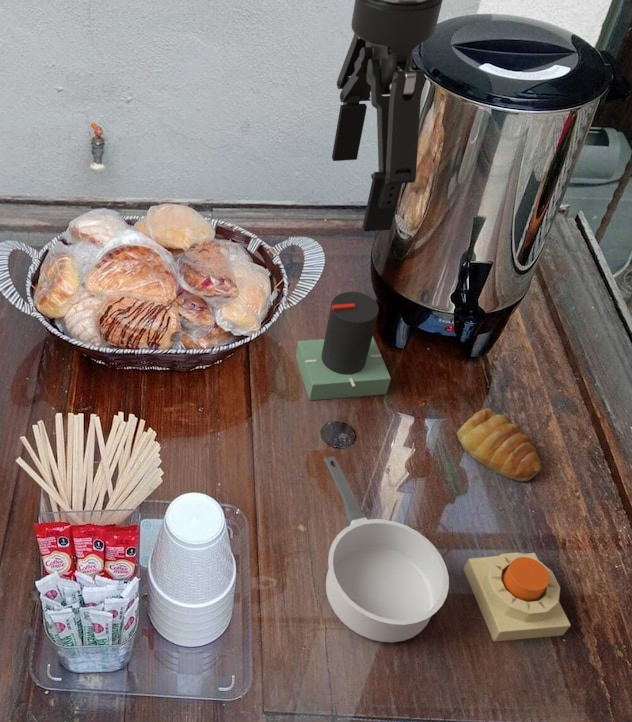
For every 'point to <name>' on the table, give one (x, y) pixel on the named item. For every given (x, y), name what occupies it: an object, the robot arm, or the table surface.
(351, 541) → the saucepan
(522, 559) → the button
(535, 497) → the table surface
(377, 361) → the panel
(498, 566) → the block
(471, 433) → the pastry
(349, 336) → the timer knob
